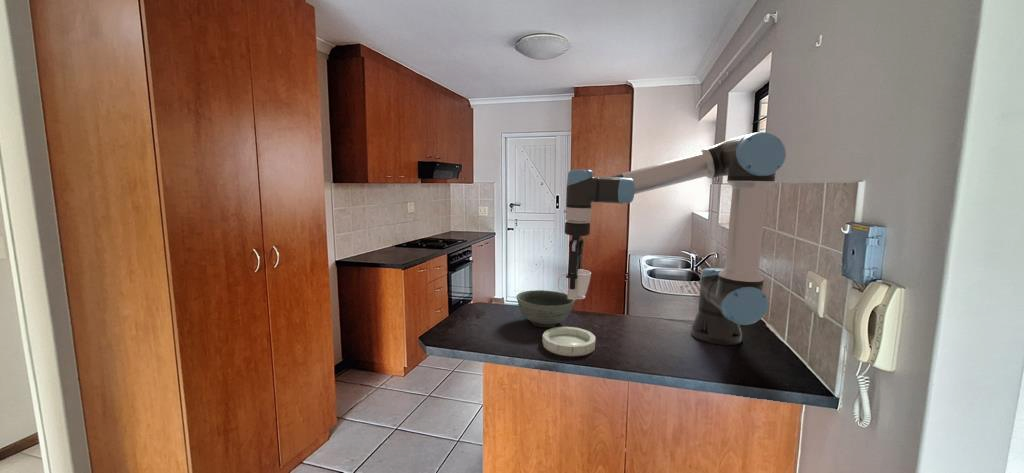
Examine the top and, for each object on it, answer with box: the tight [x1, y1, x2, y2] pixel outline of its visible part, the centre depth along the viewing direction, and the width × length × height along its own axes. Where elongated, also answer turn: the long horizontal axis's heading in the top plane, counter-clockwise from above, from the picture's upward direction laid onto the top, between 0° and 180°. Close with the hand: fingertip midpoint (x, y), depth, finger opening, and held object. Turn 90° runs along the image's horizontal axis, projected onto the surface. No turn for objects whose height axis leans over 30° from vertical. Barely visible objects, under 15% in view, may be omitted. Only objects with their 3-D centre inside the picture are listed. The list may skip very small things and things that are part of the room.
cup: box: [557, 268, 592, 300], centre depth 125 cm, size 7×10×8 cm
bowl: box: [515, 289, 576, 328], centre depth 146 cm, size 21×21×10 cm
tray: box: [542, 326, 597, 357], centre depth 127 cm, size 16×16×3 cm
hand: (573, 295), depth 126 cm, fingers closed on cup, 7 cm apart
